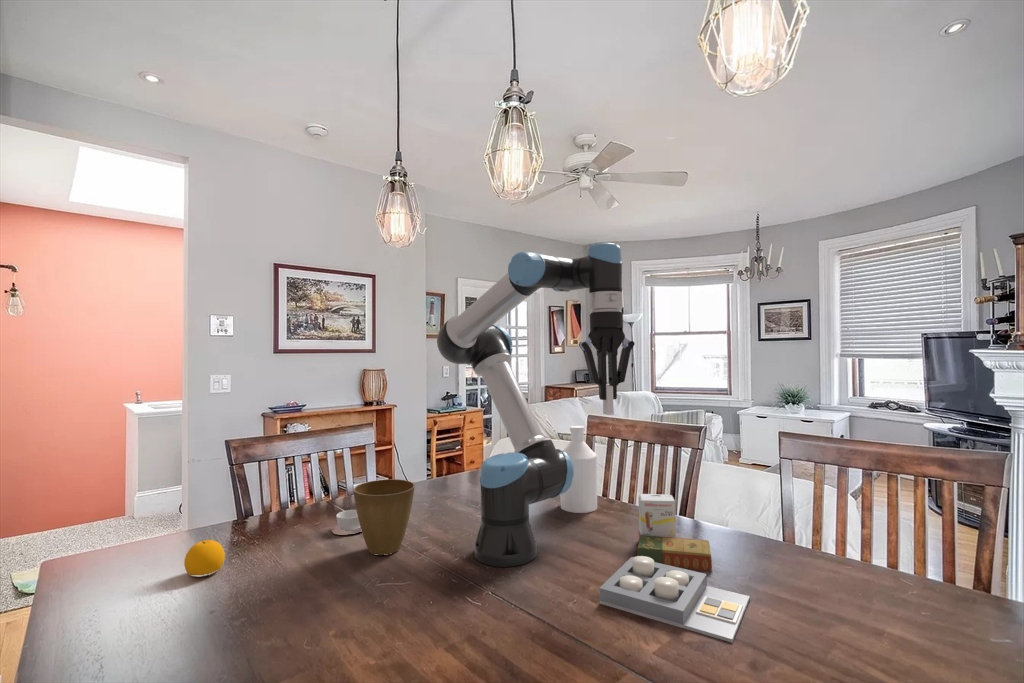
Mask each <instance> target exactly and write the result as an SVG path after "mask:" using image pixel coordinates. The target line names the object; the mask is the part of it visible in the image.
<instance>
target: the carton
mask: <svg viewBox="0 0 1024 683" xmlns="http://www.w3.org/2000/svg"><path fill="white" fill-rule="evenodd" d="M637 556H646V557H649V558H652V559H653V560H654V562H656V563H661V564H665V565H669V566H674V567H678V568H682V569H687V570H695V571H696V570H697V571H706V572H713V568H712V566H713V562H712V561H713V560H712V553H711V546H710V542H709V540H705V539H695V538H683V537H682V538H681V537H676V538H672V537H660V536H648V535H640V539H639V538H638V545H637ZM637 556H636V557H637Z"/></svg>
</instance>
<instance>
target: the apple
mask: <svg viewBox="0 0 1024 683" xmlns="http://www.w3.org/2000/svg"><path fill="white" fill-rule="evenodd" d="M185 554H186V555H185V557H184V569H185V571H186V573H187V574H188V575H189V574H190V575H204V574H209V573H212V572H214V571H216V570H218V569H219V570H221V568H222V567H223V566H224V562H225V559H226V553H225V549H224V547H223V545H221V544H220V543H219V542H218V541H217V540H213V539H206V540H202V541H198V542H196V543H195V544H194V545H192V546H191V547H190V548H189V549H188V551H187V552H186V553H185ZM219 570H218V571H219ZM190 575H189V576H190Z"/></svg>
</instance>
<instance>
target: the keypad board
mask: <svg viewBox="0 0 1024 683" xmlns="http://www.w3.org/2000/svg"><path fill="white" fill-rule="evenodd" d="M634 557H635V556H631V557H629V558H628V559H627V561H625V563H623V565H621V566H620V567H619V568H618V569H617V570H616V571H615V573H613V574H612V575H611V576H610V577H609V578H608V579H607V580H606V581H605V582H604V583H603V584H602V585H601V586H599V604H600V605H603V606H607V607H610V608H613V609H617V610H620V611H623V612H628V613H631V614H635V615H637V616H640V617H644V618H647V619H651V620H654V621H657V622H661V623H664V624H668V625H670V626H674V627H677V628H681V629H684V630H688V631H691V632H695V633H697V634H702V635H704V636H708V637H712V638H714V639H718V640H722V641H726V642H729V643H734V639H735V637H736V635H737V632H738V630H739V628H740V624H741V622H742V620H743V618H744V615H745V612H746V610H747V608H748V605H749V602H750V600H751V597H750V595H747V594H742V593H739V592H733V591H729V590H726V589H721V588H717V587H713V586H709V585H708V575H707V573H703V572H698V571H696V570H692V569H687V568H678V567H674V566H669V565H665V564H661V563H656V562H654V576H653V577H650V578H649V577H645V576H641V575H637V574H633V565H632V559H633V558H634ZM672 570H677V571H682V572H685V573H686V574H688V576H689V584H688V586H687V587H686V586H682V585H678V586H679V599H678V600H677V601H674V602H673V601H669V600H665V599H662V598H658V597H655V594H654V580H655V579H656V578H658V577H666V572H668V571H672ZM627 575H631V576H636V577H639V578H640V579H642V581H643V588H642V590H641V591H640V592H636V591H632V590H628V589H625V588H621V587H620V578H621V577H622V576H627Z"/></svg>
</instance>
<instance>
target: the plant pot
mask: <svg viewBox="0 0 1024 683" xmlns="http://www.w3.org/2000/svg"><path fill="white" fill-rule="evenodd" d="M415 487H416V486H415V483H414V482H413V481H409V480H405V479H401V478H400V479H399V478H398V479H397V478H394V479H393V478H390V479H388V478H387V479H378V480H377V479H376V480H371V481H366V482H362V483H359V484H357V485H356V486H354V488H352V490H353V496H354V505H355V510H357V515H358V519H359V523H360V527H361V531H362V533H361V534H362V538H363V539H364V543H365V546H366V547H367V550H368V552H370V553H372V554H378V555H384V554H390V553H394V552H396V551H397V550H398V551H399V550H400V548H401V546H402V543H403V540H404V537H405V535H406V531H407V528H408V524H409V520H410V516H411V511H412V508H413V507H412V506H413V502H414V501H413V500H414V496H415V495H414V493H415ZM398 551H397V552H398ZM397 552H396V553H397ZM370 553H369V554H370ZM372 554H371V555H372ZM394 554H395V553H394Z"/></svg>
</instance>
